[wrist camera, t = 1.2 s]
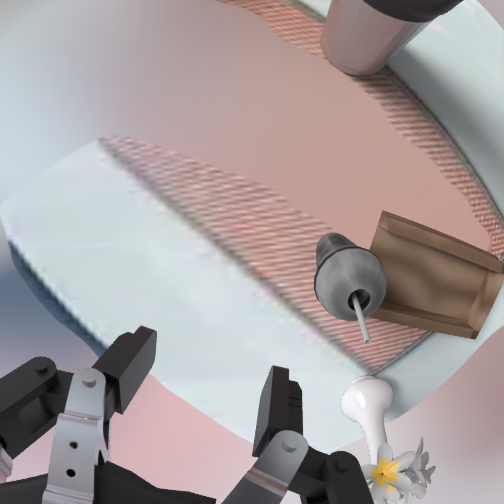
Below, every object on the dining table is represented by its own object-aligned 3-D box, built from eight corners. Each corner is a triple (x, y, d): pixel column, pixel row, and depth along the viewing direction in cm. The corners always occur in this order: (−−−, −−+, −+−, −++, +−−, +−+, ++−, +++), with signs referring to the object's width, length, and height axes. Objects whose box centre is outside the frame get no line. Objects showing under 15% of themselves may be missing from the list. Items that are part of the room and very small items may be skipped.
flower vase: (363, 424, 47) (382, 529, 23) (306, 382, 45) (309, 515, 21) (417, 389, 43) (459, 492, 20) (368, 337, 41) (415, 471, 17)
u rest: (382, 210, 36) (392, 215, 32) (496, 256, 35) (509, 263, 31) (349, 303, 40) (354, 316, 36) (464, 329, 39) (474, 341, 35)
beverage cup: (363, 226, 36) (430, 286, 17) (352, 277, 39) (398, 368, 20) (310, 218, 37) (335, 275, 18) (302, 270, 39) (313, 364, 20)
